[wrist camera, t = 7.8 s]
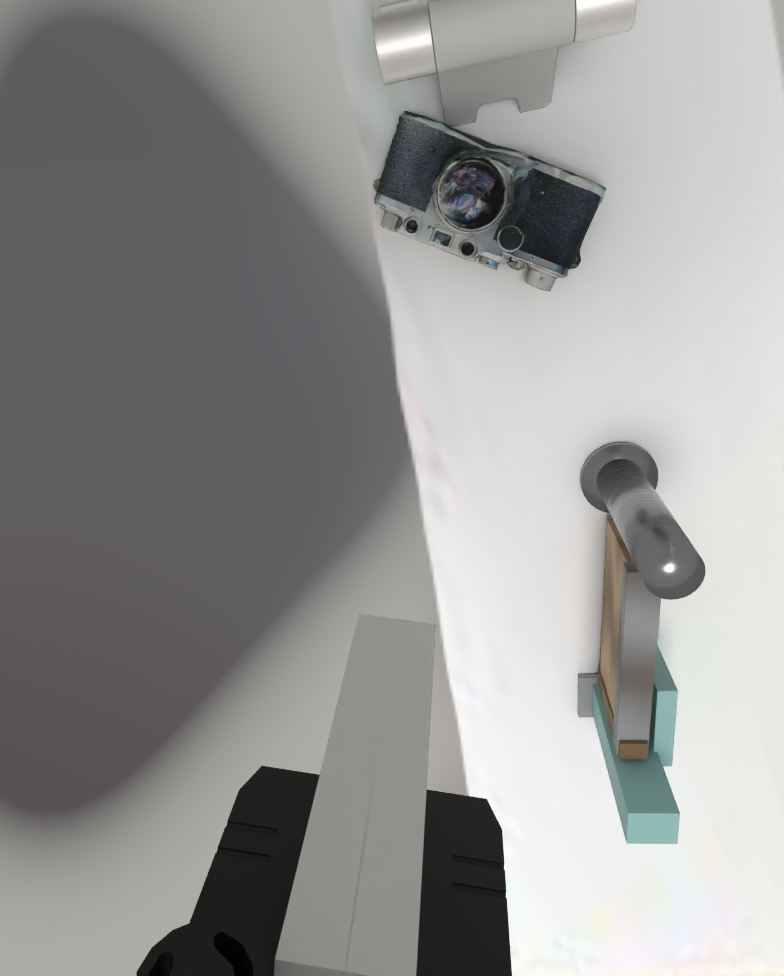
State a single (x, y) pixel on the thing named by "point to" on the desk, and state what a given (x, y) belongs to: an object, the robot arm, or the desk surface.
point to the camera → (484, 200)
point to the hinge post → (642, 518)
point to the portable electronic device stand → (488, 45)
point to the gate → (627, 649)
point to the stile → (640, 761)
